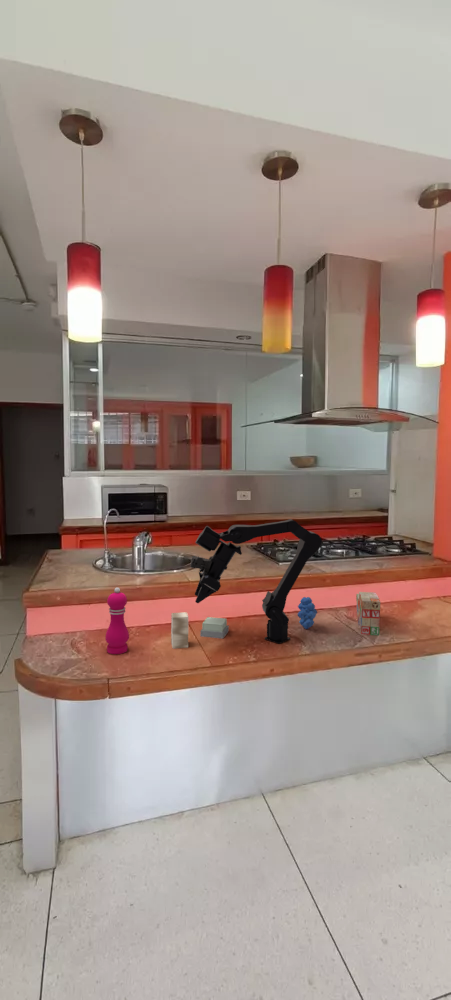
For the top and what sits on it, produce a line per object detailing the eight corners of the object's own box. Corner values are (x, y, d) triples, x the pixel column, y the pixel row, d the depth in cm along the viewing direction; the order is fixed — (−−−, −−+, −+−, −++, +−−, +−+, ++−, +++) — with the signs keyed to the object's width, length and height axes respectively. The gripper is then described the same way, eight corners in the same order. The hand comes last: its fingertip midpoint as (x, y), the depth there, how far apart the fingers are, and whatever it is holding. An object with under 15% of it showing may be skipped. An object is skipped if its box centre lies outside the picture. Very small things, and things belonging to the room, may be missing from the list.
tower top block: (226, 625, 166) (226, 618, 165) (222, 632, 159) (222, 624, 159) (207, 624, 167) (207, 617, 167) (202, 630, 160) (202, 623, 160)
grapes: (324, 633, 164) (325, 599, 164) (306, 634, 163) (307, 600, 162) (310, 623, 176) (311, 591, 175) (293, 624, 174) (294, 592, 173)
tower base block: (228, 632, 166) (228, 625, 166) (222, 640, 158) (223, 632, 158) (207, 630, 168) (207, 623, 168) (200, 637, 160) (200, 630, 160)
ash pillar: (186, 642, 154) (186, 612, 154) (188, 647, 149) (188, 616, 149) (171, 643, 153) (171, 613, 153) (172, 648, 148) (172, 617, 148)
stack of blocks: (355, 616, 185) (356, 585, 184) (372, 617, 184) (373, 586, 183) (361, 634, 164) (361, 599, 163) (379, 635, 163) (380, 600, 162)
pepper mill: (109, 646, 150) (108, 584, 149) (131, 646, 150) (131, 585, 149) (102, 654, 143) (102, 590, 142) (125, 655, 142) (125, 590, 141)
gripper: (199, 542, 163) (175, 580, 163) (201, 550, 144) (174, 593, 144) (226, 558, 164) (202, 596, 164) (231, 569, 145) (205, 611, 145)
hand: (196, 598), depth 154 cm, fingers open, 9 cm apart
